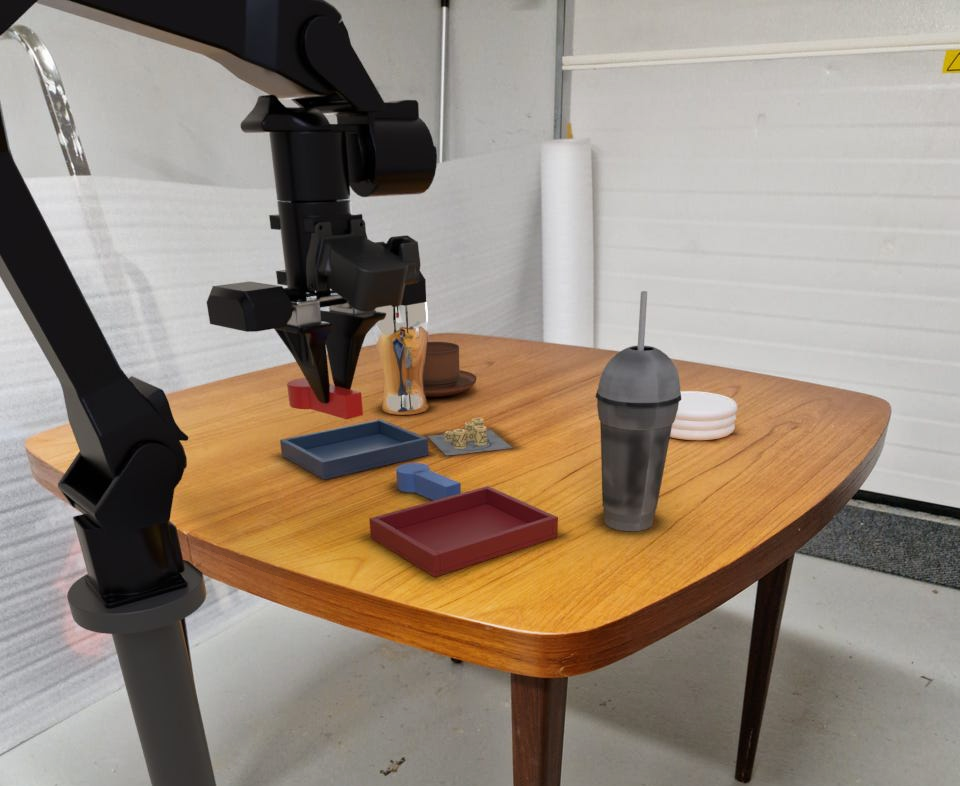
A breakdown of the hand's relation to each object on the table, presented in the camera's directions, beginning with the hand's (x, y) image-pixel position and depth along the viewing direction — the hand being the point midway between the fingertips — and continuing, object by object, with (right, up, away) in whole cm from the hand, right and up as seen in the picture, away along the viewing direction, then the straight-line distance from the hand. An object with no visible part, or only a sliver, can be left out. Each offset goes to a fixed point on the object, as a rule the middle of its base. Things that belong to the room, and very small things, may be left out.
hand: (333, 400), depth 75 cm
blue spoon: (+8, -6, +11) cm, 15 cm away
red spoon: (-1, 0, +1) cm, 2 cm away
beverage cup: (+26, -10, +4) cm, 29 cm away
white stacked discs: (+39, +4, +29) cm, 48 cm away
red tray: (+11, -12, +1) cm, 17 cm away
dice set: (+12, +2, +26) cm, 28 cm away
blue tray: (-1, 0, +22) cm, 22 cm away
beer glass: (+3, +9, +38) cm, 40 cm away
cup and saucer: (+6, +14, +46) cm, 48 cm away
